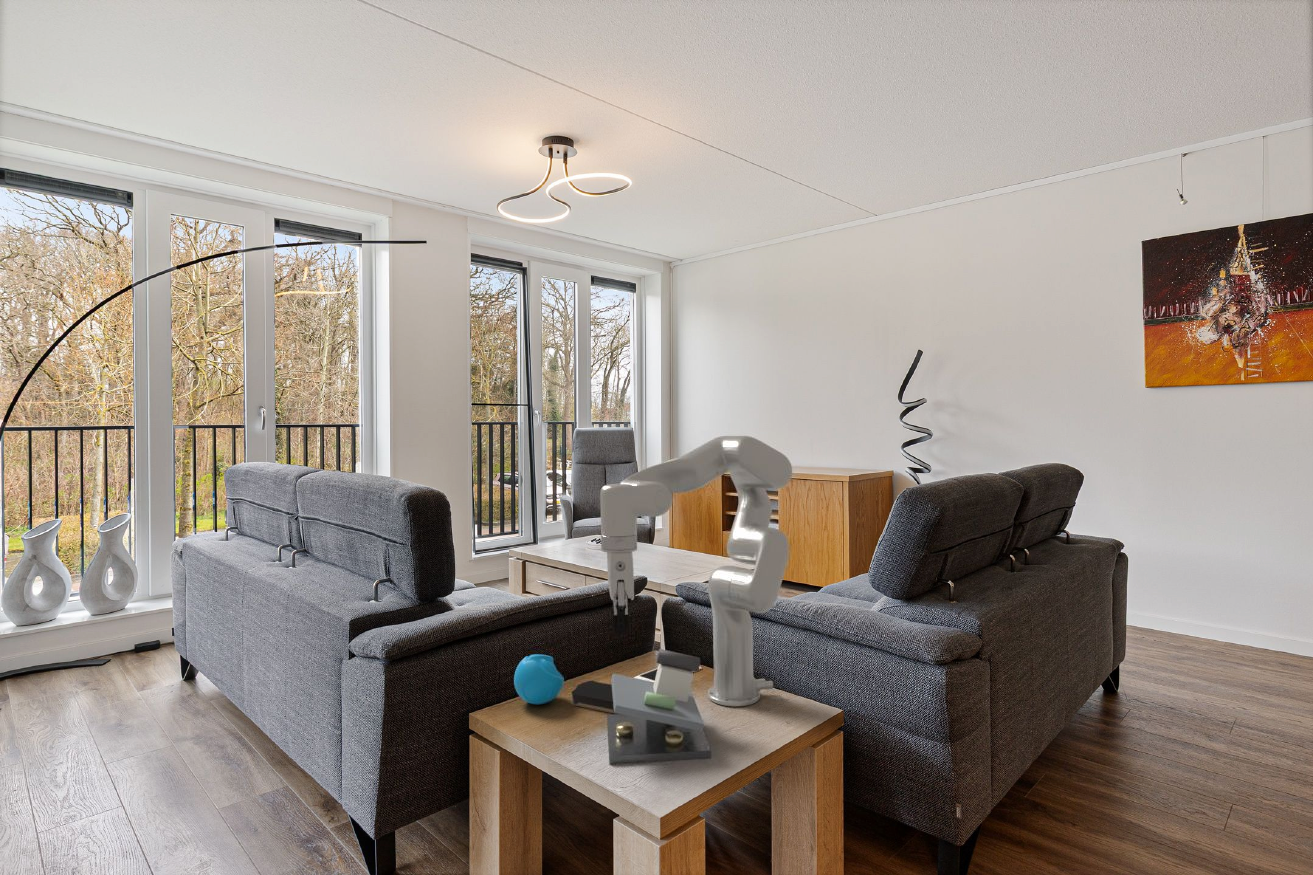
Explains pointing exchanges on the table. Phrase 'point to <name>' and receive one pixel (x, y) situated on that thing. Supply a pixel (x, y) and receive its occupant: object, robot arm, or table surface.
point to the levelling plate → (637, 709)
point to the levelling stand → (652, 741)
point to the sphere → (537, 679)
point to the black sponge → (594, 696)
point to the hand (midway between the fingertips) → (620, 629)
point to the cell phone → (650, 675)
